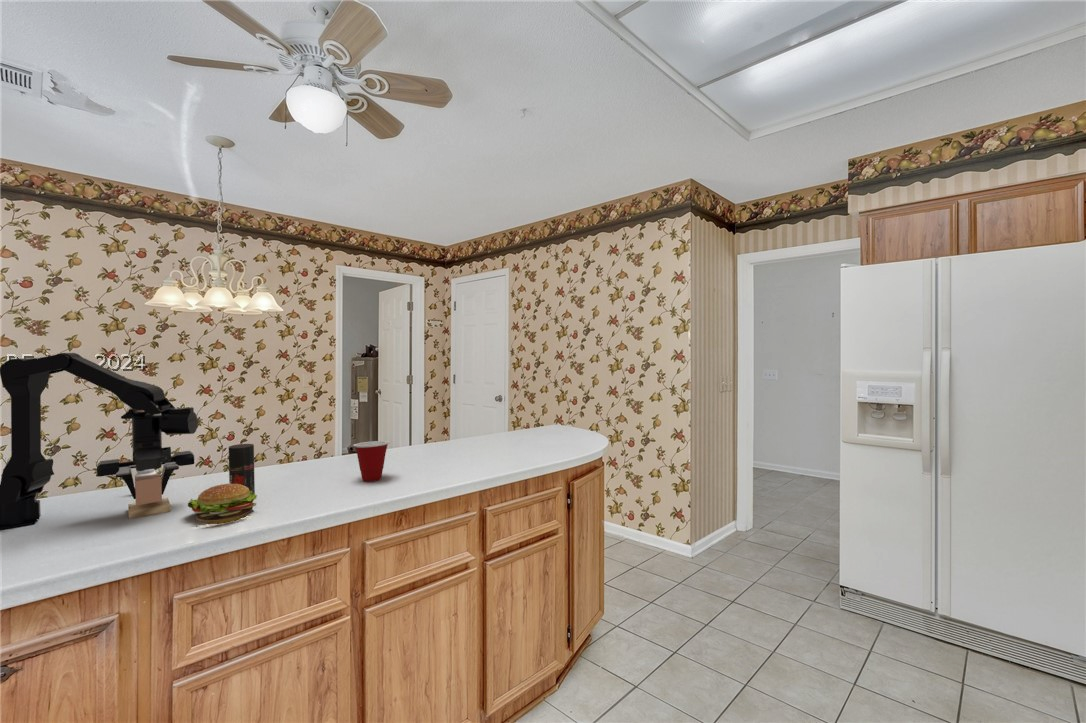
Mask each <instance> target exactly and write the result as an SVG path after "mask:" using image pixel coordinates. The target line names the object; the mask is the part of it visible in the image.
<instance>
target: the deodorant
mask: <svg viewBox="0 0 1086 723" xmlns="http://www.w3.org/2000/svg"><path fill="white" fill-rule="evenodd" d="M228 473H229V474H228V480H229V481H228V482H229V483H228V484H241V485H244V486H246V487H247V488H248V489H249V491H252V492H253V494H255V495H256V491H255V490H256V489H255V486H256V484H255V481H256V480H255V445H254V444H253V443H239V444H233V445H229V446H228Z"/></svg>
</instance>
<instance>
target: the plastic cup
mask: <svg viewBox="0 0 1086 723" xmlns="http://www.w3.org/2000/svg"><path fill="white" fill-rule="evenodd" d="M388 444H390V442H389V441H385V440H374V441H373V440H371V441H363V442H358V443H355V444H353V447H354V449H355V452H356V455H357V461H358V465H359V466H358V467H359V470H360V475H361V479H362V482H367V483H368V482H370V483H371V482H377V481H380V480H381V479H382V477H383V469H384V467H385V460H386V453H387V448H388Z"/></svg>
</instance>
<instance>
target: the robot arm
mask: <svg viewBox="0 0 1086 723" xmlns="http://www.w3.org/2000/svg"><path fill="white" fill-rule="evenodd" d="M64 371H65V372H67V373H69V374H71V375H74V376H76V377H77V378H80V379H82V380H84V381H86V382H89V383H91V384H93V385H95V386H97V387H100V388H101V389H103V390H107V391H108V392H111V393H112V394H113V395H115V397H116V398H118V400H119V401H121V402H122V403H124V405H126V406H128V407H129V409H128V410H127V412H126V413H124V414H122V415H121V416H120V419H121V420H129V419H130V420H131V436H132V437H131V439H132V440H131V442H132V460H129V461H127V460H126V461H121V462H120V459H119V458H116V459H107V460H105V459H104V460H100V461H99V462H98V463H97V464H96V474H97V476H96V477H108V476H115V478H118V479H119V478H121V480H123V481H124V483H125V484H126V486H127V488H128V489H129V492H130V494H131V496H132V498H133V500H136V492H135V481H134V477H133V473H132V472H133V471H132V469H135V470H137V471H144V470H148V469H155V470H159V469H160V468H162V474H161V483H162V495H164V493H165V491H166V488H167V485H168V483H169V480H170V478H171V475H172V474H173V472H175V471H177V470H179V469H180V467H184V466H190V465H191V466H192V465H194V464H195V455H194V453H193V452H192V451H190V450H184V451H183V450H182V451H176V452H175V451H174V452H173V455H172V447H171V446H166V447H162V445H163V443H162V440H163V438H162V435H163V434H162V433H164V434H165V435H168V436H170V435H194V434H195V433H196V431H197V429H198V426H199V418H198V417H197V414H196V412H195V411H194V410H195V409H194V406H193V407H189V406H188V407H183V408H180V407H179V408H177V407H175V406H174V405H173V404H172V403H171V401H169V399H168V398H167V397H166V396H165V392H164V390H163V388H161V387H160V386H157V385H155V384H151V383H148V382H145V381H139V380H135V379H130V378H128V377H125V376H123V375H121V374H119V373H116V372H115V371H113V370H110V369H108V368H106V367H104V366H102V365H100V364H97V363H95V362H94V361H91V360H89V359H87V358H86V357H85V358H84V357H82V355H80V354H79V353H76V352H60V353H56V354H53V355H48V356H43V357H27V358H26V357H25V358H11V359H8V360H6V361H5V362H3V363H1V365H0V380H1V384H2V386H3V388H4V389H5V390H6V392H7V393H8V394H9V396H10V432H11V433H10V439H11V441H10V458H9V460H8V461H7V463H6V465H5V466H4V468H3V469H2V473H1V478H0V530H5V529H11V528H16V527H17V528H18V527H22V526H23V527H24V526H28V525H35V524H36V523H37V521H38V520H39V519H40V518H41V517H42V516H41V500H40V499H37V496H38V494H40V493H42V492H43V490H44V487H45V485H47V484H48V483H49V482H50V481H51V478H52V476H54V475H55V472H54V470H53V466H54V458H48V459H46V458H45V456H44V455H43V454H42V450H41V449H42V447H41V446H42V440H41V438H42V437H41V436H42V435H41V434H42V432H41V431H42V430H41V429H42V428H41V427H42V426H41V425H42V424H41V423H42V422H41V420H42V418H41V413H42V412H41V407H42V406H41V396H42V393H43V392H44V391H45V389H46V387H47V385H48V384H49V382H50V381H49V380H50V376H51V375H52V374H58V373H60V372H61V373H62V372H64ZM162 466H163V467H162ZM137 471H136V472H137Z"/></svg>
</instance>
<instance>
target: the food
mask: <svg viewBox="0 0 1086 723" xmlns="http://www.w3.org/2000/svg"><path fill="white" fill-rule="evenodd" d="M257 497H258V495H257V494H256V493H255V494H253V492H252V491H249V489H248V488H247V487H246V486H244V485H241V484H229V483H223V484H218V485H214V486H211V487H209V488H207V489H205V490H203V491H201V493H200V494H199V495H198V497H197V499H196V498H195V499H193V498H191V499H190V500H189V501H188V503H187V507H188V508H190V509H191V511H193V513H195V517H196V518H195V519H196V521H199V522H203V523H204V522H205V523H207V525H219V523H220V524H226V522H227V523H231V522H234V521H238V519H239V520H240V519H243V518H245V517H247V516H248V515H247V514H249V513H250V512H251V511H253V510H252V509H253V508H254V507H256V506H257V502H254V501H255V500H256V499H257Z"/></svg>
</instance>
